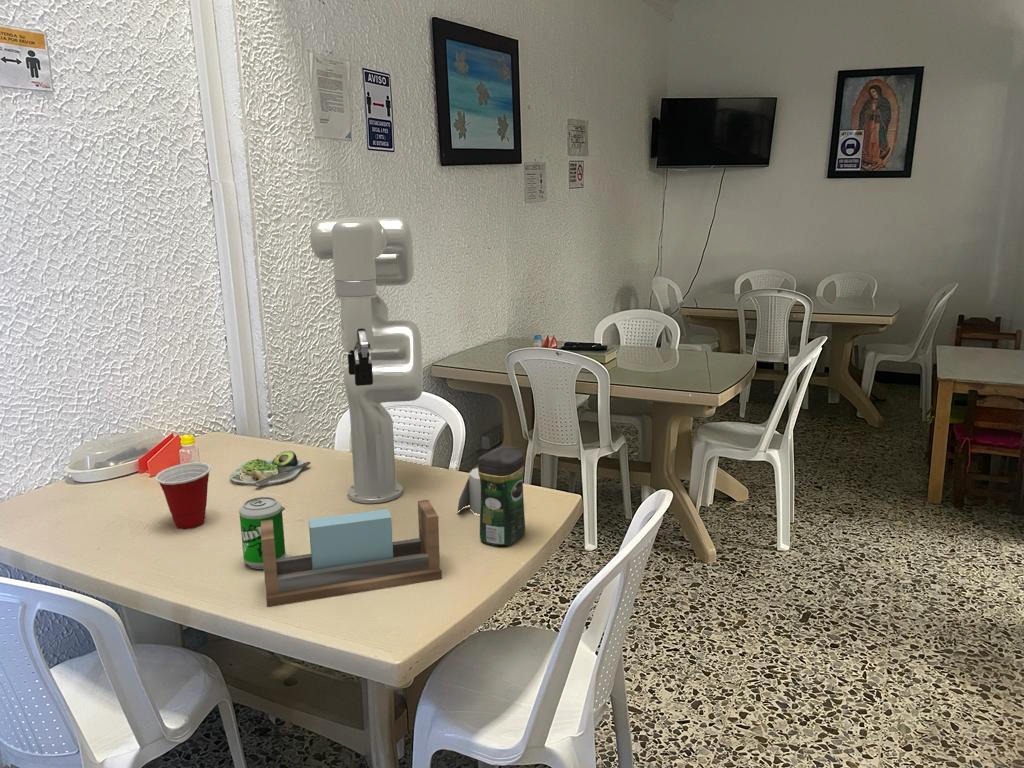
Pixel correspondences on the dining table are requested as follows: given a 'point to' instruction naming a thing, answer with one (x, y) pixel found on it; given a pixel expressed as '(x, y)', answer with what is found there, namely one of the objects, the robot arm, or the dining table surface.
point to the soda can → (251, 529)
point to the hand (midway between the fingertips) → (360, 379)
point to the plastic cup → (186, 492)
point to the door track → (352, 566)
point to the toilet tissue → (471, 493)
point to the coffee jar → (501, 495)
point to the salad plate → (270, 470)
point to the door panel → (350, 539)
